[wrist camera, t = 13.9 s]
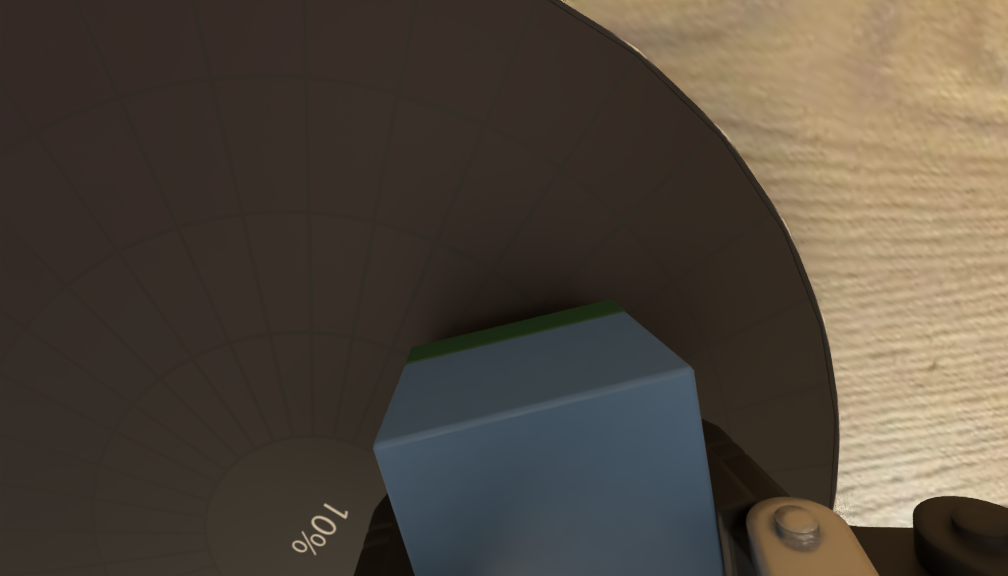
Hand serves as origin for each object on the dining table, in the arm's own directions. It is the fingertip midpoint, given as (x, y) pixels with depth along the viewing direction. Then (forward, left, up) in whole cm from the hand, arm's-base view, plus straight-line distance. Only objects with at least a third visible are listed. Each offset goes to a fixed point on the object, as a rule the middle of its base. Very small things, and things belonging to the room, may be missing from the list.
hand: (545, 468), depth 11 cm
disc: (+2, -7, -5) cm, 9 cm away
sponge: (0, 0, 0) cm, 0 cm away
